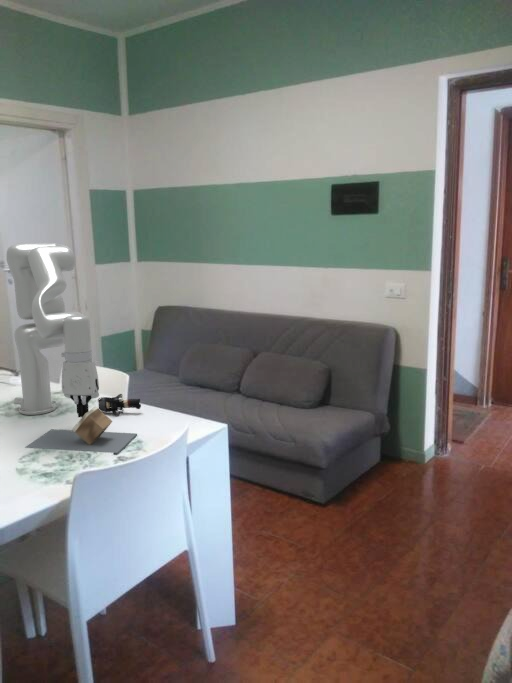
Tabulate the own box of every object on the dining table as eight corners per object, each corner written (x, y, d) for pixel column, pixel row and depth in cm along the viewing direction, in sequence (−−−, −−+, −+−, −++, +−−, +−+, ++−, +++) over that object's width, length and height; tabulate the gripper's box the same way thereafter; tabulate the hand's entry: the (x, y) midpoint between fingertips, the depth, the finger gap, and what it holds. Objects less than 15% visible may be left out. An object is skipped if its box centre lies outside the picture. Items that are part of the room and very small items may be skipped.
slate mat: (24, 449, 170) (24, 447, 170) (51, 430, 186) (51, 429, 186) (117, 454, 166) (117, 452, 166) (137, 435, 181) (137, 433, 181)
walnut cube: (85, 413, 170) (103, 429, 170) (95, 406, 177) (112, 421, 177) (72, 429, 172) (89, 445, 172) (82, 422, 178) (99, 436, 178)
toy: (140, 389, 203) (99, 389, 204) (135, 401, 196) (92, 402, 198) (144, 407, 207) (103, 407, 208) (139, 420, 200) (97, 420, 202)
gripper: (49, 358, 168) (53, 419, 171) (97, 360, 166) (101, 420, 169) (61, 353, 175) (66, 411, 179) (107, 354, 173) (111, 413, 176)
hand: (83, 415), depth 174 cm, fingers closed
